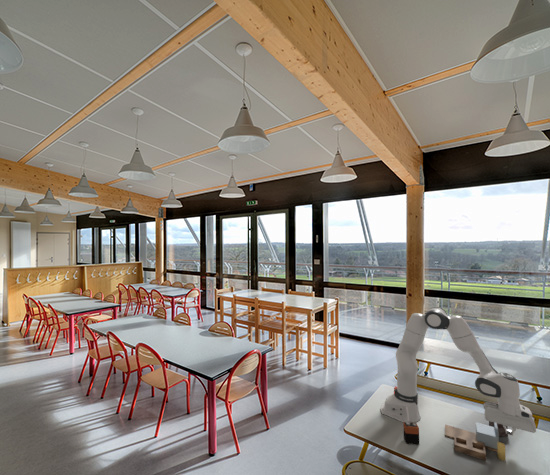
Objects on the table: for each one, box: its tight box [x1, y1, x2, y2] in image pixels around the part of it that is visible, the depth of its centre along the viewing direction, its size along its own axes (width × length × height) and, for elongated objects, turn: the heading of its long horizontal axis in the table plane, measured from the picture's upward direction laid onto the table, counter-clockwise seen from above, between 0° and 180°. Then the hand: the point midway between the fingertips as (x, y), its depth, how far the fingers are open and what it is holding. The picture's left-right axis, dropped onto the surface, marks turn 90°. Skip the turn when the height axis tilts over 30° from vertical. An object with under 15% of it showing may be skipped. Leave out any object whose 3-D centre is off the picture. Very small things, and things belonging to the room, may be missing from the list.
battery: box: [402, 422, 420, 446], centre depth 151 cm, size 4×7×10 cm, turn 81°
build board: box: [453, 434, 487, 461], centre depth 144 cm, size 13×9×3 cm
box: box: [488, 421, 509, 438], centre depth 156 cm, size 6×6×7 cm
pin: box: [497, 441, 507, 462], centre depth 138 cm, size 3×3×7 cm
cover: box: [475, 421, 500, 449], centre depth 149 cm, size 9×9×9 cm
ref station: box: [444, 424, 498, 453], centre depth 152 cm, size 24×10×6 cm, turn 57°
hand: (509, 434), depth 144 cm, fingers closed
